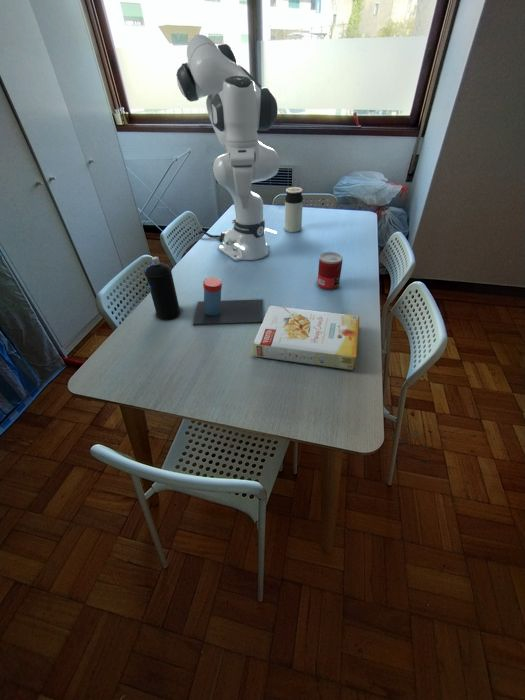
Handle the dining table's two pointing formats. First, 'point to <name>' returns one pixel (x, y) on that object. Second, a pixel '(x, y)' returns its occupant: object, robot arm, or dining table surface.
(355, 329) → the cereal box
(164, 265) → the aerosol can
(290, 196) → the travel mug
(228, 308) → the mat
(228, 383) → the dining table surface
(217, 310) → the container
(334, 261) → the canned food
